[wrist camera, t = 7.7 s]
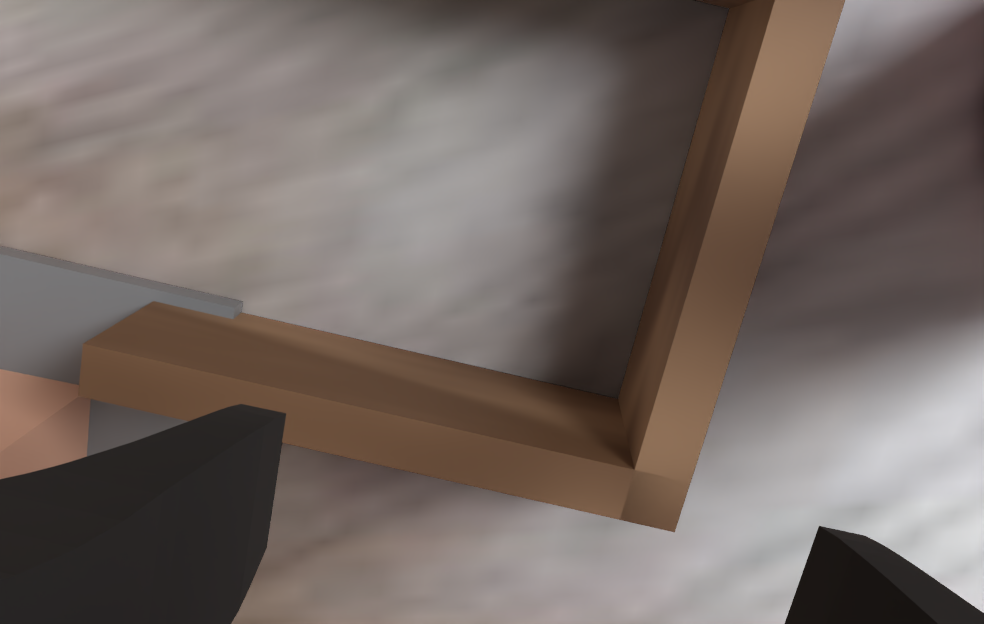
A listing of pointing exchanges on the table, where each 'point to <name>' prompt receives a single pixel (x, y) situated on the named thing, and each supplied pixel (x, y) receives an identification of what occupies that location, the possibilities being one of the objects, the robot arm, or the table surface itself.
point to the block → (40, 423)
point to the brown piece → (513, 399)
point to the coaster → (82, 328)
